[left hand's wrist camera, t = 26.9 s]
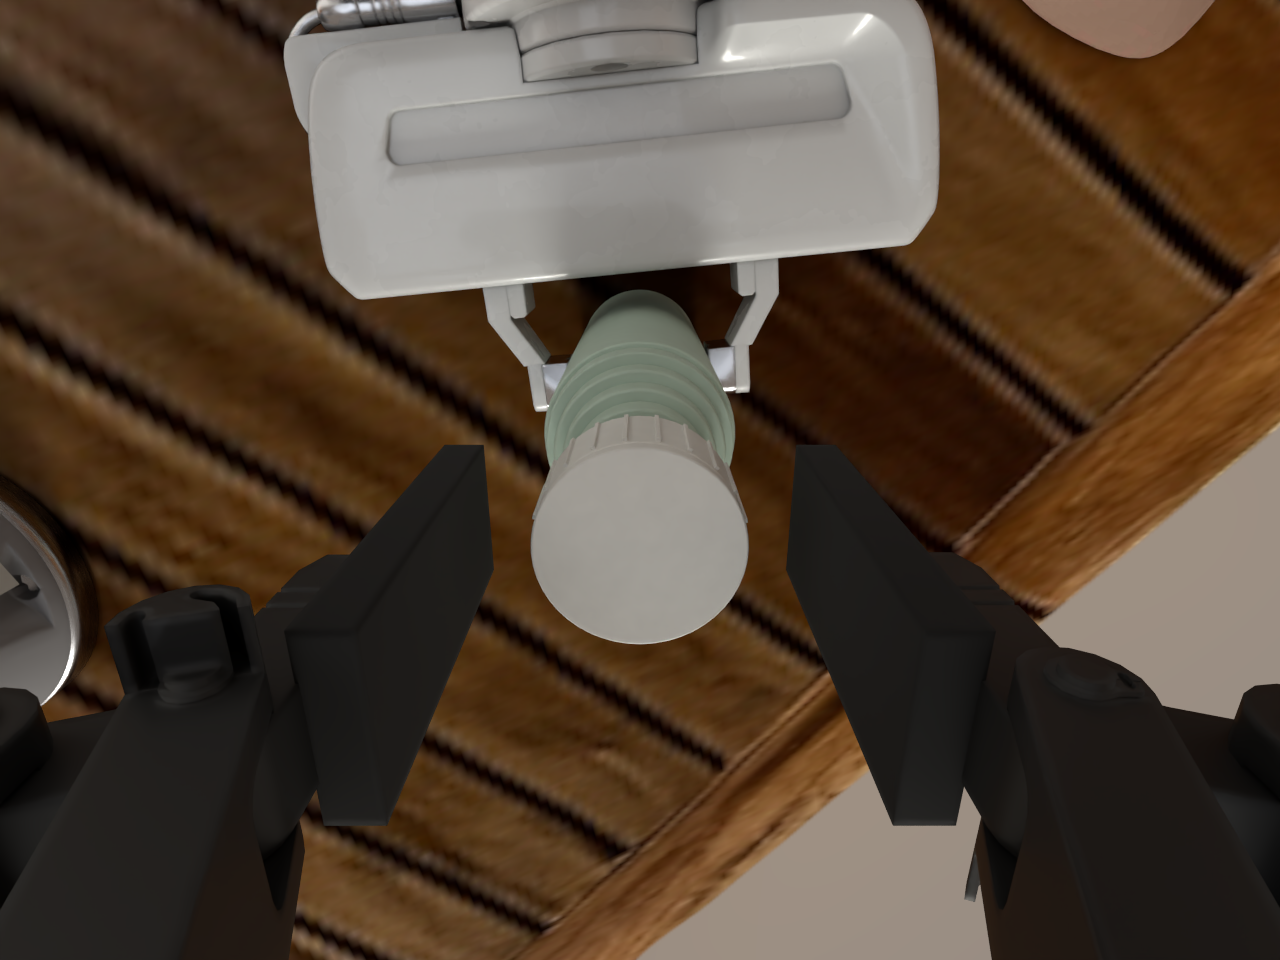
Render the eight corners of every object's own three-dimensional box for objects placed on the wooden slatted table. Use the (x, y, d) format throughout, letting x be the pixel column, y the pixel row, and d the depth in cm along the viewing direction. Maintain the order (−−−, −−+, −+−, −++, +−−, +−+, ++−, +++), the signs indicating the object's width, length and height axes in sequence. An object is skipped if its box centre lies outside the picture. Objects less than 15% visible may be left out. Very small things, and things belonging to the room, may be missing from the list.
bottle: (584, 401, 32) (510, 648, 14) (582, 289, 31) (493, 397, 12) (693, 402, 32) (766, 650, 14) (698, 290, 31) (788, 399, 12)
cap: (526, 569, 15) (508, 623, 13) (564, 390, 13) (551, 419, 11) (705, 608, 15) (715, 666, 13) (761, 437, 14) (781, 474, 12)
